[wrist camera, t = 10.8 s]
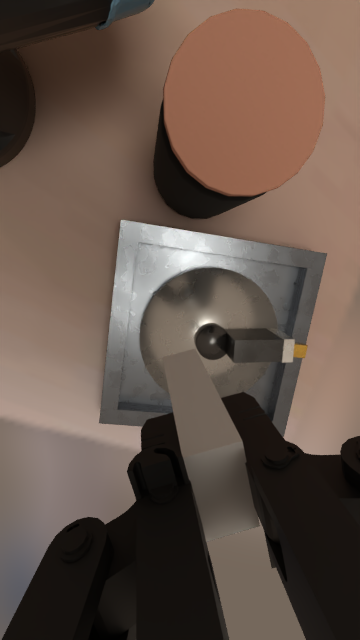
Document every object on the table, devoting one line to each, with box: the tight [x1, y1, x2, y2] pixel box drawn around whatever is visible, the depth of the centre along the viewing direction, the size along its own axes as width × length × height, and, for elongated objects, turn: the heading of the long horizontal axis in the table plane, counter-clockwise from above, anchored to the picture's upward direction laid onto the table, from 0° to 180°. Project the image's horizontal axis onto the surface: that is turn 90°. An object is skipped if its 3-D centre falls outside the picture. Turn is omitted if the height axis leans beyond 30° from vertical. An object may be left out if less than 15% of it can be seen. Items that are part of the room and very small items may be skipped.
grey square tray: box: [99, 220, 327, 437], centre depth 40 cm, size 24×24×5 cm
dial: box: [140, 267, 295, 398], centre depth 37 cm, size 17×17×6 cm
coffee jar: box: [154, 9, 325, 219], centre depth 29 cm, size 11×11×18 cm
